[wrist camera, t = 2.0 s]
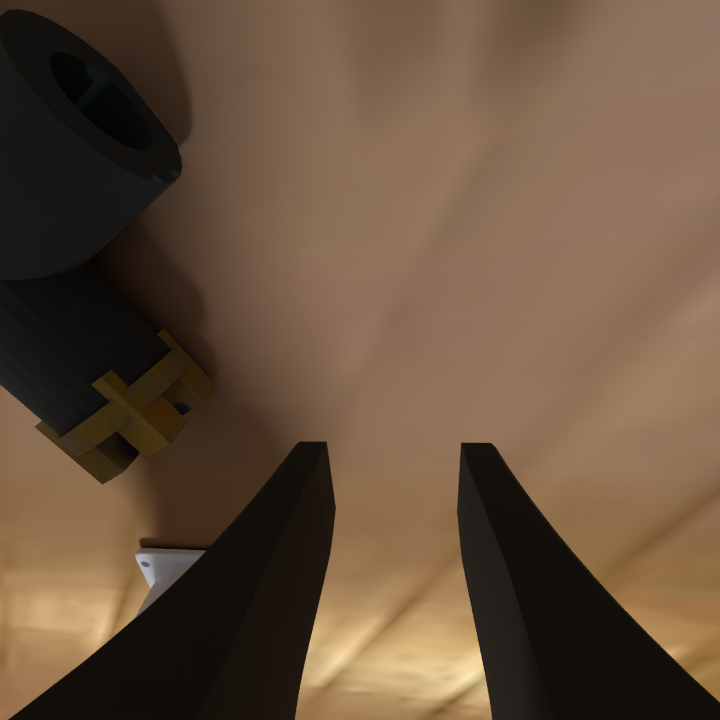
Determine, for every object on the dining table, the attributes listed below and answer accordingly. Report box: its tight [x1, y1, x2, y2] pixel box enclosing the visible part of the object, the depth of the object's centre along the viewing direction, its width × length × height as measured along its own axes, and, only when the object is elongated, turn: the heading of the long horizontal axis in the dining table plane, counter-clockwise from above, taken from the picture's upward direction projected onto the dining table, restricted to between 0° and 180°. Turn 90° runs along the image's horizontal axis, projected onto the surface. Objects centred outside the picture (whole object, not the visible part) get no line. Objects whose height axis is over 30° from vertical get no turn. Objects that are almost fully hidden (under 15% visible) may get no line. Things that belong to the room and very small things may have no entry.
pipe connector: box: [0, 9, 216, 484], centre depth 15 cm, size 12×5×15 cm
